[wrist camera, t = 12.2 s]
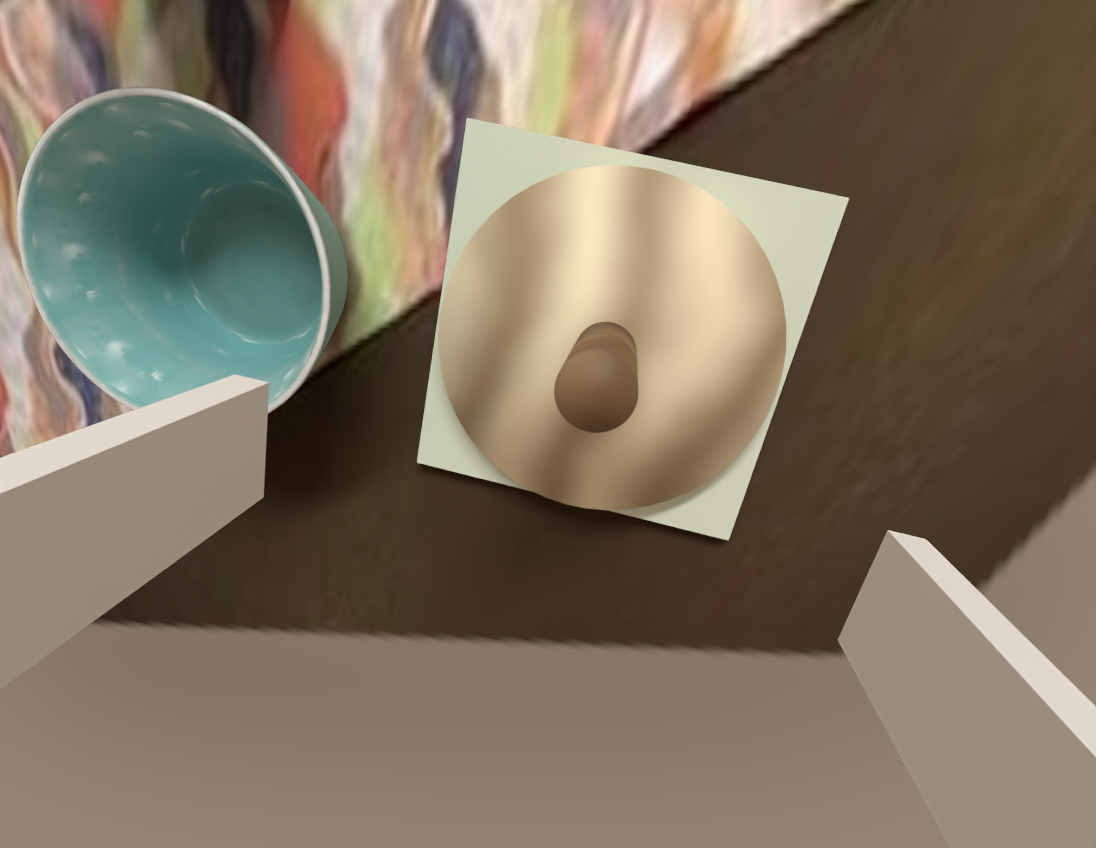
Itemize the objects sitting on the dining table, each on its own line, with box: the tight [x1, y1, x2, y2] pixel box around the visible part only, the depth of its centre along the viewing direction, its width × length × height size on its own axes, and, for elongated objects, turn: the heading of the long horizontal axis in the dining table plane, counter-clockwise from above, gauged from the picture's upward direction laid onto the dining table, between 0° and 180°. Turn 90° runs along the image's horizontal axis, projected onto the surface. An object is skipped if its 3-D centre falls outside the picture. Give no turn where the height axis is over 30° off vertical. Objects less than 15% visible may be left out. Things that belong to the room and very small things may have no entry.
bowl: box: [17, 87, 348, 413], centre depth 31 cm, size 16×16×8 cm
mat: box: [417, 118, 849, 540], centre depth 33 cm, size 20×20×1 cm
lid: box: [438, 165, 786, 510], centre depth 28 cm, size 19×19×10 cm
